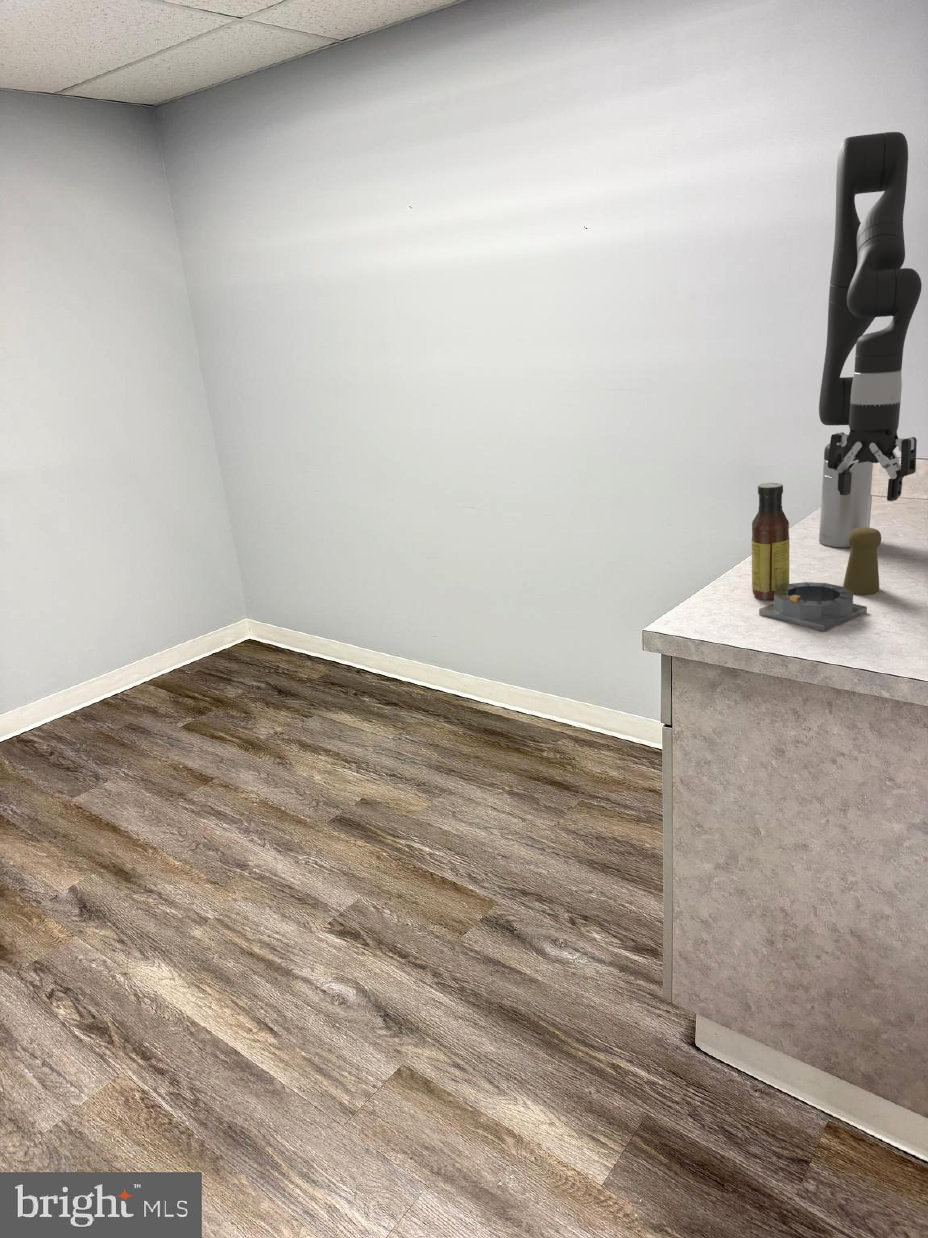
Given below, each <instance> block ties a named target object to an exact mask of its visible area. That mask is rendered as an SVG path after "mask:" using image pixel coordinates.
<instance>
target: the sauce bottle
mask: <svg viewBox="0 0 928 1238" xmlns="http://www.w3.org/2000/svg"><path fill="white" fill-rule="evenodd" d="M757 493H758V511H757V514H756V515H755V517H754V518H753V520H752V522H751V532H752V533H751V534H752V536H751V587H752V594H753V596H754V597H755V598H757V599H759V600H767V601H774V593H775V590H776V588H779V587H781V586H784V585H786V584H790V527H789V526H790V522H789V520H788V518H787V517H786V514H785V512H784V510H783V505H782V504H783V501H782V500H783V493H784V484H782V483H780V482H764V483H760V484H759V485H757Z"/></svg>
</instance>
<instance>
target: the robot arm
mask: <svg viewBox="0 0 928 1238" xmlns="http://www.w3.org/2000/svg"><path fill="white" fill-rule="evenodd" d="M908 165H909V147H908V141H907V137H906V136H905V134H904V133H902V132H900V131H888V132H887V131H886V132H879V133H870V134H869V133H868V134H862V135H861V134H860V135H854V136H849V137H846V138H844V140H842V142H841V144H840V146H839V150H838V155H837V160H836V180H835V183H836V185H835V222H834V223H835V224H834V226H835V227H834V242H833V243H834V244H833V252H832V253H833V254H832V263H831V270H830V281H829V289H828V292H829V293H828V304H827V305H828V308H827V309H828V311H827V332H826V333H827V334H826V346H825V355H824V362H823V370H822V378H821V385H820V392H819V393H820V394H819V401H818V414H819V415H818V416H819V420H820V422H821V423H822V424H823V425H824V426H848V429H849V433H848V434H845V432H843V431H842V432H841V431H840V432H837V433H833V434H832V435H831V436H830V441H829V443H828V444H826V446H825V447H824V453H823V454H824V455H823V468H822V469H823V470H822V487H821V504H820V518H819V519H820V520H819V534H818V535H819V537H818V542H819V543H820V544H822V545H824V546H829V547H834V548H851V546H850V544H849V534H850V532H851V531H852V530H853V529H856V528H862V527H867V528H871V527H870V526H871V515H872V514H871V513H872V501H873V500H872V499H873V495H872V486H873V485H872V482H873V468H874V464H878V463H879V464H880V466H881V468H883V469H884V470H885V471H886V473H887V475H888V476H889V478H888V483H887V494H886V495H887V496H886V500H887V501H888V502H893V501H897V500H898V498H899V497H901V495H902V489H903V480H904V478H905V477H906V476H910V475H913V474H915V473H916V471H917V468H916V467H917V441H918V440H917V438H916V437H915V436H912V437H908V438H899V436H898V429H899V427H900V426H899V424H900V412H901V401H902V400H901V399H902V388H903V378H902V377H903V376H902V368H903V367H902V366H903V357H904V347H905V342H906V338H907V337H906V336H907V334H908V333H907V332H908V328H909V326H910V323H911V321H912V318H913V315H914V313H915V310H916V308H917V304H918V302H919V299H920V297H921V296H920V295H922V294H921V293H922V286H923V284H922V280H921V277H920V274H919V273H918V272H917V270H915V269H913V268H911V267H910V268H909V267H906V268H905V267H904V268H902V266H903V265H904V264H905V263H904V262H905V258H906V247H905V235H904V213H905V212H904V211H905V206H906V205H905V203H906V195H907V194H906V193H907V184H908V169H909V168H908V167H909V166H908ZM880 192H883V193H882V194H881V196H880V197H879V199H878V200H877V201H876V202H875V203H874V204H873V205H872V207H871V208H870V209H869V210H868V211H867V213H866V214H865V215H864V217H863V219H862V220H861V221H860V217H859V215H858V212H857V208H856V201H855V198H856V195H859V194H860V195H861V194H870V193H880ZM882 317H883V318H885V317H892V319H891V322H890V323H889V325H887V326H886V327H885V328H883V329H881V330H877V331H873V332H870V333H865V332H866V331H867V330H868V328H870V326H871V324H872V323H873V322H874V320H875V319H876V318H882ZM854 347H855V357H854V372H853V376H849V377H848V376H847V377H846V376H845V377H844V376H843V377H841V374H842V371H843V368H844V365H845V363H846V361H847V360H848V358H849V355H850V353H851V352H852V351H853V349H854ZM897 447H898V451H899V452H900V459H899V457H898V455H897V454H896V452H895V451H894V450H895V449H896V448H897Z"/></svg>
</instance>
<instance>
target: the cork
mask: <svg viewBox="0 0 928 1238" xmlns="http://www.w3.org/2000/svg"><path fill="white" fill-rule="evenodd" d="M881 543H882V534H881V531H880V530H878V529H877V528H874V527H870V528H867V527H862V528H856V529H853V530H852V531H851V532H850V534H849V544H850V546H851V547H850V551H849V556H848V560H847V566H846V571H845V576H844V579H843V580H844V581H843V584H842V587H845V588H846V589H848V590H850V591H852V592H853V593H854V594H853V595H859V596H868V595H869V596H871V595H876V594H878V593H880V591H881V590H880V589H881V588H880V577H879V576H880V574H879V562H878V561H879V560H878V559H879V558H878V548H879V546H881ZM879 590H880V591H879ZM877 592H878V593H877ZM875 593H876V594H875Z"/></svg>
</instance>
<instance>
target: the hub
mask: <svg viewBox="0 0 928 1238" xmlns="http://www.w3.org/2000/svg"><path fill="white" fill-rule="evenodd" d="M854 595H855V594H854V593H853V592H852V591H850V590H848V589H846V588H845V587H843V585H842V586H840V585H836V584H831V583H828V582H827V583H826V582H811V581H804V582H796V583H795V582H794V583H789V584H786V585H784V586H781V587H779V588H776V590H775V593H774V600H773V602H772V603H771V604H768V605H766V606H763V607H761V608H759V610H758V611H759V612H758V615H759V616H763V617H767V618H771V619H774V620H777V621H782V622H784V623H785V622H786V623H789V624H793V625H796V626H801V627H805V628H809V629H811V630H816V631H820V632H823V633H825V632H826V631H829V630H831V629H833V628H836V627H838V626H840V625H843V624H844V623H847V622H849V621H852V620H853V619H855V618H857V617H860V616H863V615H864V614H868V613H867V612H868V606H865V605H862V604H861V605H860V604H857V603H854Z"/></svg>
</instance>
